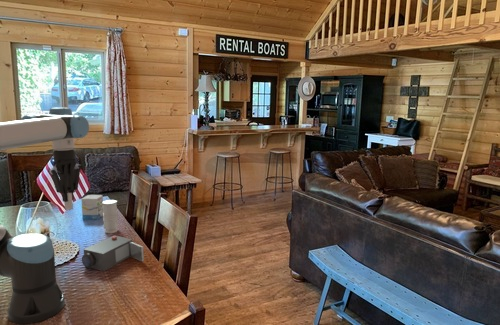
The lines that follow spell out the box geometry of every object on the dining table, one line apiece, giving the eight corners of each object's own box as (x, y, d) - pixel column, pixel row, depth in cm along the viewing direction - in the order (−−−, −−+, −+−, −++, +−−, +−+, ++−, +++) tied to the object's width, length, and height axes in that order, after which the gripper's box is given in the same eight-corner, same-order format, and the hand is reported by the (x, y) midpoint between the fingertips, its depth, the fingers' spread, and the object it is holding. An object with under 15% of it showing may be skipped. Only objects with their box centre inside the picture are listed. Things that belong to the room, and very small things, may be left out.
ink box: (97, 219, 197) (96, 198, 195) (82, 219, 198) (80, 198, 195) (104, 214, 206) (103, 194, 204) (89, 214, 206) (87, 194, 204)
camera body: (99, 273, 137) (98, 254, 136) (80, 268, 141) (78, 249, 140) (133, 255, 154) (132, 237, 152) (115, 250, 158) (114, 233, 157)
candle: (120, 231, 180) (118, 202, 178) (105, 234, 176) (103, 204, 174) (116, 227, 186) (115, 199, 183) (102, 230, 182) (100, 201, 179)
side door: (144, 260, 147) (143, 246, 146) (141, 261, 146) (140, 247, 145) (131, 255, 153) (130, 241, 151) (129, 256, 152) (128, 242, 151)
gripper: (54, 151, 130) (59, 215, 135) (85, 147, 142) (89, 206, 146) (41, 150, 134) (46, 212, 138) (72, 146, 145) (77, 203, 149)
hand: (69, 208), depth 142 cm, fingers closed
